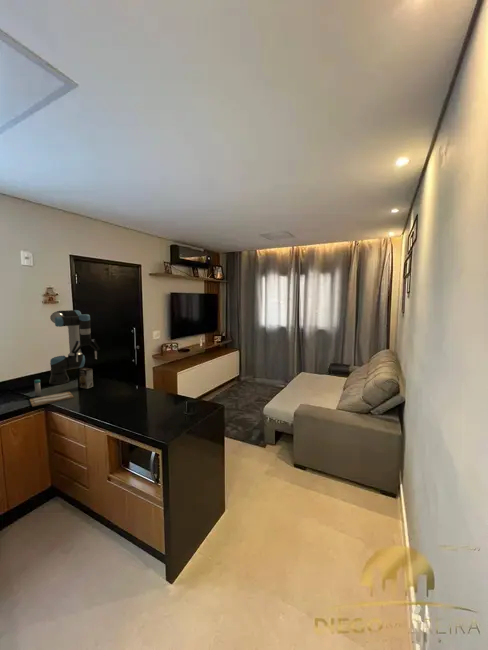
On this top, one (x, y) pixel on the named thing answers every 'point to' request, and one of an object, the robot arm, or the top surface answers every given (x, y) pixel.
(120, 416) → the top surface
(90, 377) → the coffee box
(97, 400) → the top surface
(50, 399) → the writing board
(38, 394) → the marker
